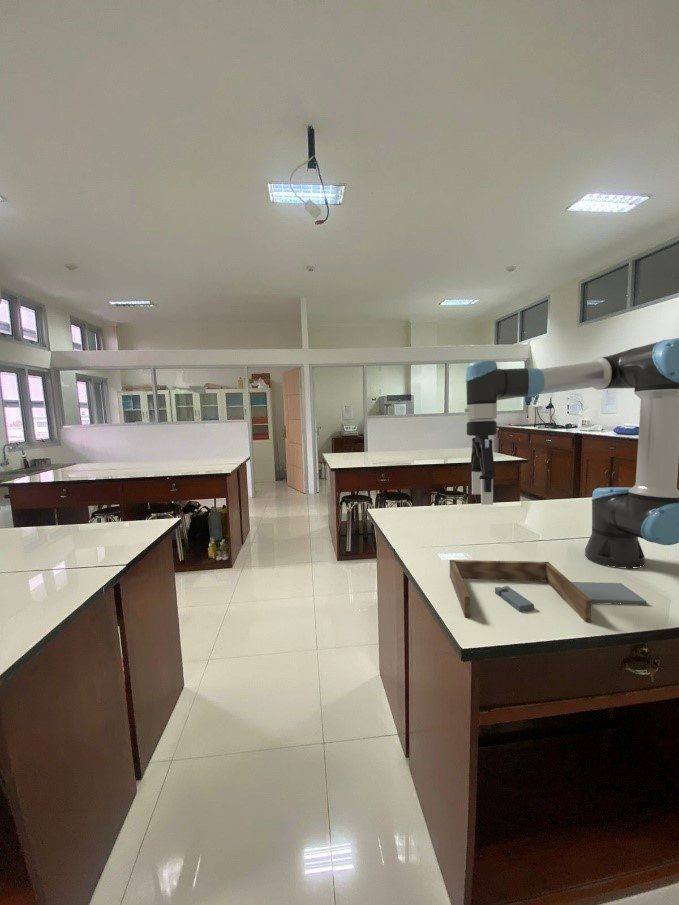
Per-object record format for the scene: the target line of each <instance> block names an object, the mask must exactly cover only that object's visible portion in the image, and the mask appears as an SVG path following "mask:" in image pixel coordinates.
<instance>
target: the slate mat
mask: <svg viewBox="0 0 679 905" xmlns="http://www.w3.org/2000/svg"><path fill="white" fill-rule="evenodd" d="M571 582H572V583H573V584H574V585H575V586H576V587H577V588H578V589H579V590H580V591H582V592H583V593H584V594H585V595H586V596H587V597H588V598H589V599H590V600H592V604H596V603H617V604H616V605H627V604H646V605H647V600H646V599H645V598H643V597H641V596H640V595H638V594H637V593H636V592H635V591H633V590H631V589H630V588H629V587H627V586H625V585H624V584H623V583H621V582H595V581H594V582H591V581H589V582H588V581H587V582H586V581H571ZM618 603H619V604H618ZM620 603H621V604H620Z"/></svg>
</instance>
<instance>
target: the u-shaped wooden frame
mask: <svg viewBox="0 0 679 905" xmlns="http://www.w3.org/2000/svg"><path fill="white" fill-rule="evenodd" d="M449 578H450V580H451V584H452V586H453V589H454V591H455V594H456V597H457V601H458V603H459V605H460V607H461V608H460V609H461V611H462V613H463V616H464V618H471V596H470V593H469V592H468V589H467V587H466V584H465V582H464V579H462V578H465V580H468V579H469V578H470V579H469V580H500V579H504V580H505V581H506V580H511V581H512V580H514V581H542V580H544V582H546V583H547V584H548V585H549V586H550V587H551V588H552V589H553V590H554V591H555V592H556V593H557V594H558V595H559V597H561V599H563V600H564V602H565V603H567V604H568V606H569V607H570V608H571V609H572V610H573V611H574V612H575V613H576V614H577V615H578V616H579V617H580V618H581V619H582V620H583V621H584V622H585V623H592V606H593V603H592V600H590V599H589V598H588V597H587V596H586V595H585V594H584V593H583V592H582V591H580V590H579V589H578V588H577V587H576V586H575V585H574V584H573V583H572V582H573V581H570V579H568V578H567V577H566V576H565V575H564V574H563V573H561V571H560V570H558V569H557V568H556V567H555V566H554V565H553V564H552V563H550V562H549V561H535V560H534V561H532V560H529V561H528V560H527V561H526V560H524V561H523V560H520V561H519V560H469V559H468V560H466V559H463V560H461V559H449ZM504 580H503V581H504ZM545 580H546V581H545Z"/></svg>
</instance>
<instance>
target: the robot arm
mask: <svg viewBox="0 0 679 905" xmlns="http://www.w3.org/2000/svg"><path fill="white" fill-rule="evenodd" d="M465 374H466V376H465V383H466V408H464V413H466V420H468V421H467V423H466V435H467V436H469V437H472V436H473V437H472V439H471V441H472V442H471V444H472V445H471V455H470V465H469V466H470V470H471V495H480V501H481V502H480V505H482V506H483V505H485V506H487V505H488V506H489V505H492V506H493V505H494V479H495V478H496V472H495V471H496V470H495V462H494V452H493V439H489V436H496V435H497V434H498V432H497V428H498V426H497V424H498V423H497V421H496V419H497V418H498V401H502V400H508V399H515V398H529V397H538V396H539V395H545V394H546V395H547V394H552V393H553V394H555V393H559V392H566V391H567V392H568V391H574V390H583V389H590V388H591V389H595V390H597V391H601V390H609V389H634V395H636V396H637V397H638V398H639V399H640V409H639V410H640V411H639V423H638V425H639V426H638V439H637V440H638V441H637V454H636V470H635V471H636V473H635V484H634V485H633V486H632V487H627V486H626V487H624V486H623V487H621V486H619V487H618V486H617V487H615V486H613V487H609V486H608V487H598V488H595V489H594V490H593V491H592V496H591V497H592V498H591V535H590V537H589V539H588V541H587V544H586V547H585V548H584V557H585V556H586V557H587V558H588V560H589V559H590V560H589V561H591V560H592V561H591V562H593V561H594V562H593V563H596V562H597V563H596V564H599V563H600V564H599V565H602V564H604V565H603V566H606V565H609V566H608V567H611V566H615V567H614V568H617V567H626V568H625V569H634V568H633V567H640V566H643V565H644V564H646V557H645V554H644V551H643V548H642V546H641V543H640V541H639V538H640V539H643V540H645V541H647V542H650V543H652V544H653V543H654V544H658V545H661V546H672V545H676V544H679V488H677V487H678V475H679V337H676V338H670V339H663V340H660V341H657V342H653V343H649V344H645V345H641V346H638V347H634V348H630V349H627V350H624V351H621V352H617V353H615V354H610V355H607V356H602V357H601V356H599V357H596V358H594V359H593V360H592V361H591V362H589V361H588V362H583V363H575V364H569V365H561V366H559V365H558V366H553V367H546V368H537V367H536V368H535V367H534V368H533V367H523V368H504V369H503V368H498V364H497V362H496V361H495V360H478V361H473V362H471V363H468V365H467V367H466V373H465ZM474 436H475V437H474ZM586 557H585V558H586ZM587 558H586V559H587ZM644 566H645V565H644ZM644 566H643V567H644ZM640 568H641V567H640Z"/></svg>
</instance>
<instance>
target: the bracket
mask: <svg viewBox="0 0 679 905" xmlns="http://www.w3.org/2000/svg"><path fill="white" fill-rule="evenodd" d="M494 594H496V595H497V596H499V597H500V598H501V599H502V600H503V601H505V602H506V603H507V604H508V605H510V606H511V607H513V609H515V610H516V611H518V612H519V613H525V612H526V613H527V612H531V611H532V612H533V611H535V604H534V603H533V602H531V601H530V600H528V598H526V597H524V596H523V595H522V594H520V593H519V592H517V591H516V590H514V589H513V588H511V587H510V586H508V585H505V586H503V587H501V586H496V587H494Z"/></svg>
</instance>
